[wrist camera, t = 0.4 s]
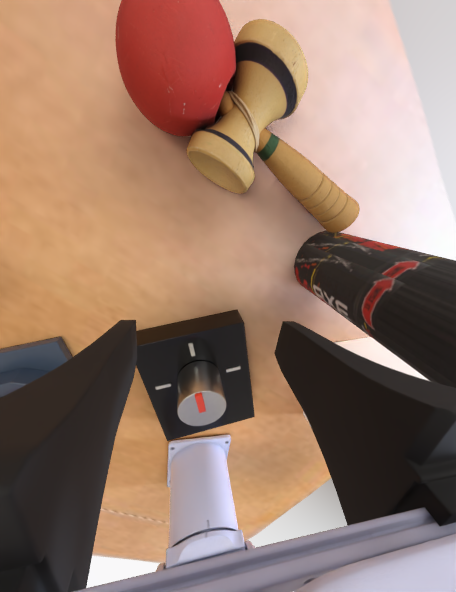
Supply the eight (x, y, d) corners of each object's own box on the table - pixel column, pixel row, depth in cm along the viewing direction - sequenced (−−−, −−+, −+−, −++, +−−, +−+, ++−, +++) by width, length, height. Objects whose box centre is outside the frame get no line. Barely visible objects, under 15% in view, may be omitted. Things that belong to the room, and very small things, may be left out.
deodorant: (282, 268, 21) (459, 395, 8) (327, 216, 20) (629, 264, 7) (318, 300, 24) (501, 439, 10) (360, 256, 22) (630, 349, 9)
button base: (106, 417, 24) (99, 439, 22) (17, 439, 23) (0, 465, 21) (60, 336, 20) (45, 354, 17) (-54, 360, 19) (-86, 382, 16)
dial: (222, 386, 23) (229, 422, 19) (182, 396, 22) (183, 434, 19) (216, 356, 21) (223, 389, 17) (173, 366, 20) (172, 402, 17)
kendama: (352, 164, 20) (159, -68, 11) (414, 178, 15) (154, -221, 6) (293, 236, 23) (106, 103, 14) (328, 268, 18) (75, 93, 9)
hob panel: (248, 399, 28) (255, 418, 25) (168, 420, 27) (167, 442, 24) (237, 309, 22) (244, 323, 20) (134, 331, 21) (128, 348, 18)
